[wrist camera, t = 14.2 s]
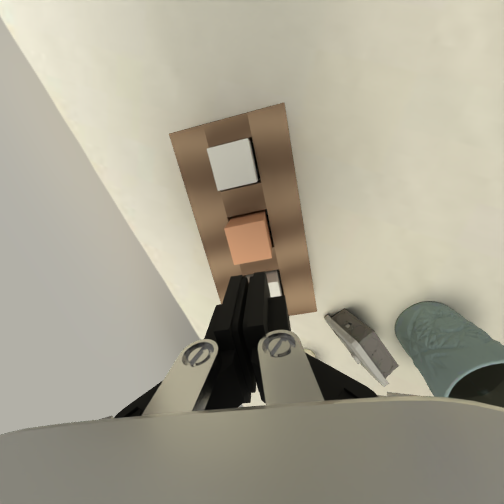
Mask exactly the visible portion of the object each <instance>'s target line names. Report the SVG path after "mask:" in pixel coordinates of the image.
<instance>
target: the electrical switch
mask: <svg viewBox="0 0 504 504" xmlns="http://www.w3.org/2000/svg"><path fill="white" fill-rule="evenodd" d="M325 320H326V322H327V323H328V325H329V326H330V327H331V328H332V330H333V331H334V332H335V334H336V335H337V336H338V337H339V339H340V340H341V341H342V343H343V344H344V345H345V347H346V348H347V349H348V350H349V352H350V353H351V355H352V357H353V358H354V360H355V361H356V362H357V364H359V363H360V364H361V365H362V366H363V367H364V368H365V369H366V370H367V371H368V372H369V373H370V374H371V375H372V376H373V377H374V378H375V379H376V380H377V381H378V382H379V383H380V384H381V385H382V386H384V387H385V386H386V385H388V384H389V383H388V382H387V380H386V377H387V376H388V375H390V374H391V372H392V371H393V370H394V369H396V368H397V367H398V364H397V363H396V361H395V360H394V359H393V357H392V356H391V354H390V353H389V351H388V350H387V349H386V347H385V346H384V344H383V343H382V342H381V340H380V339H379V337H378V336H377V335H376V333H375V332H374V331H373V330H372V329H371V328H370V327H368V326H367V325H366V324H364V323H363V322H362V321H360V320H359V319H358V318H356V317H355V316H354V315H352V314H351V313H350V312H348V311H347V310H346V309H343V310H342V311H341V312H339V313H338V314H336V315H335V316H333V317H330V316H329V315H327V316H326V317H325Z"/></svg>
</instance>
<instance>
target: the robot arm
mask: <svg viewBox="0 0 504 504" xmlns="http://www.w3.org/2000/svg"><path fill="white" fill-rule="evenodd" d="M256 383H257V387H258V390H259V392H260V396H261V400H262V401H263V402H264V403H266V405H264V406H251V407H239V406H240V405H241V404H242V403H250V401H251V393H253V392H255V391H256ZM238 407H239V408H238ZM0 504H504V408H502V407H498V406H493V405H489V404H485V403H480V402H476V401H470V400H463V399H455V398H448V397H432V396H417V395H409V394H400V393H392V392H387V396H381V395H376V394H375V392H373V391H372V390H371V389H369V388H368V387H367V386H365V385H363V384H361V383H359V382H358V381H356V380H354V379H352V378H350V377H349V376H347V375H345V374H343V373H341V372H340V371H338V370H336V369H334V368H332V367H331V366H329V365H327V364H325V363H323V362H322V361H320V360H318V359H316V358H314V357H313V356H311V355H309V354H307V353H305V351H304V349H303V346H302V344H301V341H300V339H299V337H298V336H297V335H296V334H295V333H293V332H291V328H290V321H289V315H288V309H287V304H286V298H285V295H284V296H277V297H271V296H270V291H269V286H268V281H267V276H266V272H265V271H263V272H256V273H254V275H253V276H250V279H249V282H248V278H247V277H244V278H243V275H237V276H231V277H230V280H229V283H228V287H227V290H226V293H225V296H224V299H223V302H222V304H221V305H216V307H215V310H214V313H213V316H212V318H211V321H210V324H209V327H208V330H207V333H206V335H205V338H204V339H202V340H198V341H195V342H193V343H191V344H189V345H188V346H187V347H185V348H184V349H183V350H182V352H181V353H180V354H179V356H178V358H177V359H176V361H175V362H174V364H173V366H172V367H171V369H170V370H169V372H168V374H167V375H166V377H165V379H164V380H163V381H162V382H160V383H159V384H157V385H156V386H155V387H153V388H152V389H151V390H149V391H148V392H146V393H145V394H143V395H142V396H141V397H139V398H138V399H136V400H135V401H134V402H132V403H131V404H129V405H128V406H127V407H125V408H124V409H123V410H122V411H120V412H119V413H118V414H117V415H116V416H115V417H114V418H113V416H109V417H106V418H102V419H99V420H92V421H81V422H71V423H63V424H55V425H47V426H40V427H33V428H26V429H22V430H17V431H12V432H8V433H5V434H1V435H0Z"/></svg>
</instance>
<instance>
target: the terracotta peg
mask: <svg viewBox="0 0 504 504" xmlns="http://www.w3.org/2000/svg"><path fill="white" fill-rule="evenodd" d="M224 230H225V234H226V237H227V241H228V245H229V248H230V252H231V256H232V260H233V263H234V265H238V264H243V263H249V262H254V261H260V260H265V259H270V258H272V245H271V235H270V230H269V226H268V221H267V216H266V211H265V209H264V210H260V211H255V212H250V213H246V214H241V215H236V216H232V218H231V219H230V221H229V222H228V224H227V225H226V226H225V228H224Z"/></svg>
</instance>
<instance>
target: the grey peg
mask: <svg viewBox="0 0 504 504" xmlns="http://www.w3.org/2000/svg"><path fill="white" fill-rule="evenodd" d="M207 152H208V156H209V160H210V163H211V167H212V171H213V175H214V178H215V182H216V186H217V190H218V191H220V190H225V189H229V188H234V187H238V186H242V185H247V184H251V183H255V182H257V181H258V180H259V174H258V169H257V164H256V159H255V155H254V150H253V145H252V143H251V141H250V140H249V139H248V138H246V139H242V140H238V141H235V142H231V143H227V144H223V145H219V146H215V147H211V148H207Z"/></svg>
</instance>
